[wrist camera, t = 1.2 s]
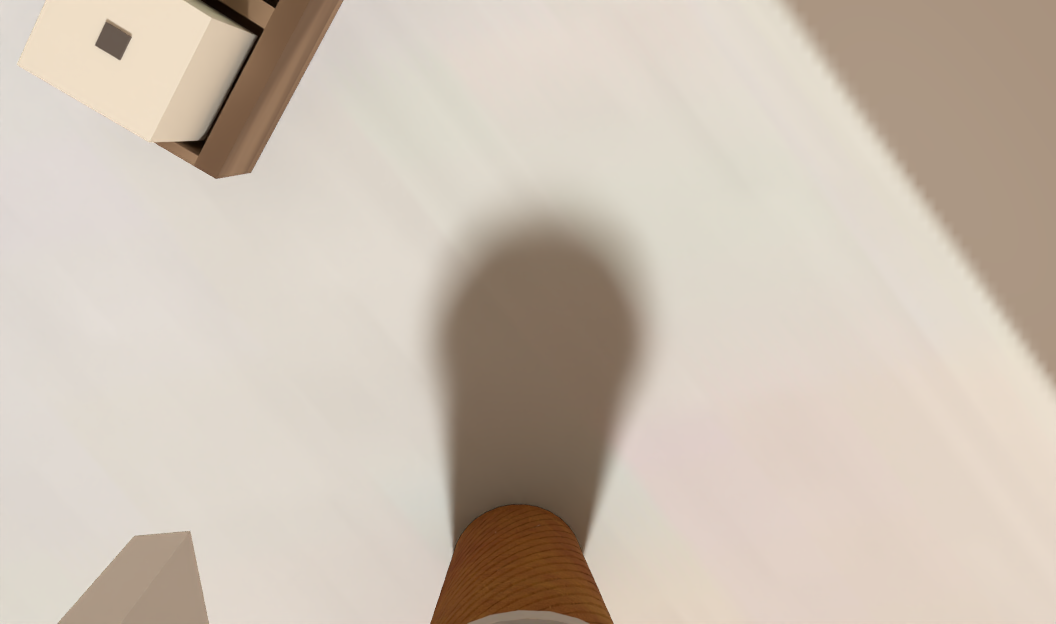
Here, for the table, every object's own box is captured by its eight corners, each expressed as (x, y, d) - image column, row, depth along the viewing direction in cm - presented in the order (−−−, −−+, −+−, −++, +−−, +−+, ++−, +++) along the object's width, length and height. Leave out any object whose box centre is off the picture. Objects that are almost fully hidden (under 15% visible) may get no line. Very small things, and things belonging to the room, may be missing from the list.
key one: (94, 75, 27) (14, 64, 23) (146, -34, 26) (74, -68, 22) (203, 140, 28) (147, 142, 23) (257, 35, 27) (210, 17, 22)
